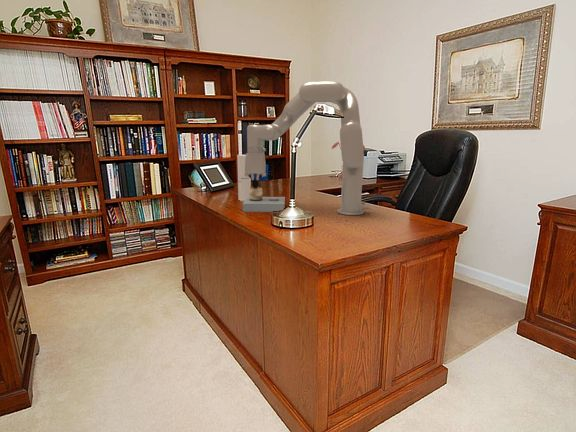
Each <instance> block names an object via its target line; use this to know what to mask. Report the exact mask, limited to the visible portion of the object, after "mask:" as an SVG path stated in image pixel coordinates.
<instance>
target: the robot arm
mask: <svg viewBox="0 0 576 432" xmlns="http://www.w3.org/2000/svg"><path fill="white" fill-rule="evenodd" d="M315 103H331V104H335V105H337V106H338V107H339V108H338V109H339V112H340V111H341V112H343V114H344V116H345V117H344V118H341V117H340V130H339V143H341V145H340V147H341V149H340V151H341V160H342V165H343V166H342V169H341V174H342V179H341V195H340V208H337V210H336V211H337V213H339V214H341V215H346V216H360V215H363V214H364V213H365V210H372V205H368V204H363V203H362V191H363V178H364V177H363V176H364V161H365V154H364V151H363V145H364V141H363V140H364V139H363V129H362V126H361V118H360V108H359V102H358V99H357V97H356V96H355V94H354V93H353V92H352V91H351V90H350V89H349V88H347V87H345V86H344V85H343V84H342V83H341V82H338V81H306V82H304V83H302V85H301V86H300V88H299V90H298V92H297V93H296V95H294V96H293V97H292V98H291V99H290V100H289V101H288V102H287V103H286V104H285V105H284V108H283V110H282V112H281V113H280V115H279V116H278V117H277V119H275V120H274V121H273V122H272V123H271V124H248V125H247V128H246V135H247V136H246V138H247V139H246V141H247V145H246V148H247V151H246V154H245V155H246V158H245V176H248V177H250V178H251V181H252V182H251V184H252V185H251V187H254V188H257V187H259V184H260V183H259V181H260V179H261V178H264V177H266V176H267V173H266V171H267V170H266V169H267V165H266V164H267V163H266V156H265V153H264V152H266V151H267V149H266V147H265V148H264V146H263V145H264V143H263V142H264V141H276V140H278V139H279V138H280V137H282V135H284V134H285V133H286V132H287V131H288V130H289V129H291V127H292V126H293V125H294V124H295V123H296V122H297V121H298V119H299V118H300V117H302V116H303V115H304V114H305V113H306V112H307V111H308V110H309V109H311V108H312V106H313V105H315ZM255 175H256V178H255Z"/></svg>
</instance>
